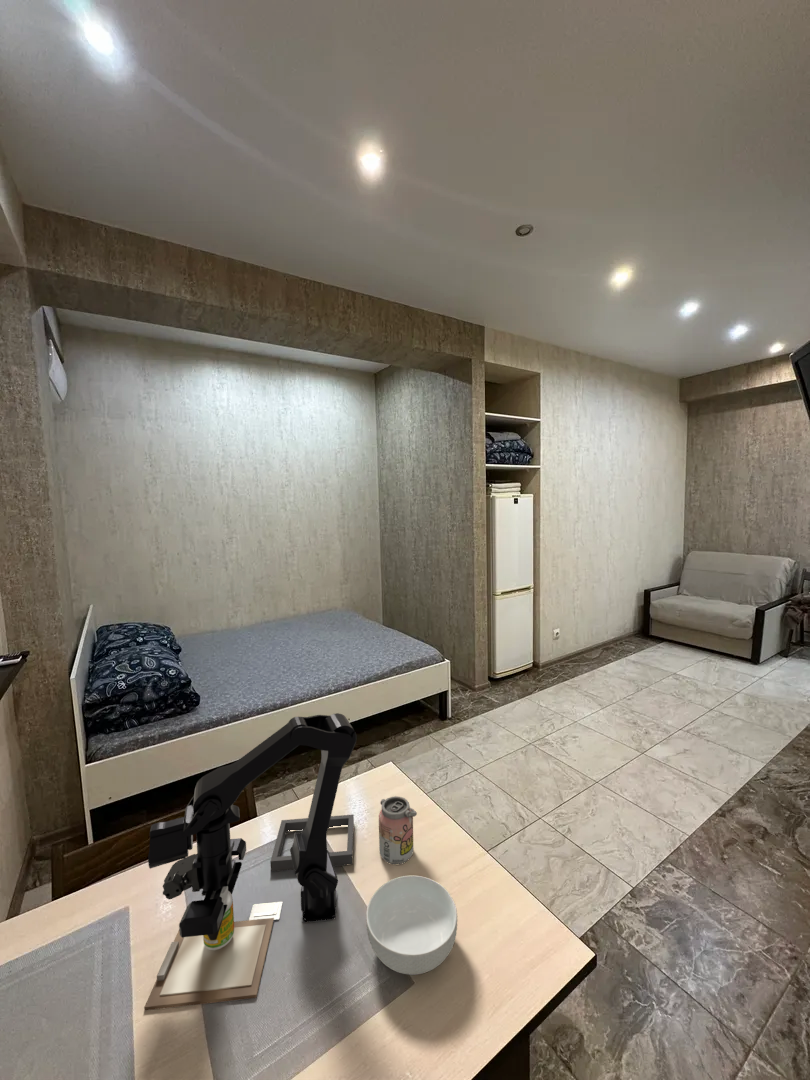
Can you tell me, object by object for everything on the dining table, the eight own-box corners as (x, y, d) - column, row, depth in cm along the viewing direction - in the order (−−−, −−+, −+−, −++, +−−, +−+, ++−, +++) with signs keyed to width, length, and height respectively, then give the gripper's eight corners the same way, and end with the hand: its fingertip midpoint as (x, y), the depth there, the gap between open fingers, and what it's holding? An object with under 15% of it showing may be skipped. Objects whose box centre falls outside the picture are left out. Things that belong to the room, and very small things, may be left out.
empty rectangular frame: (353, 823, 114) (353, 814, 114) (352, 864, 101) (351, 854, 101) (282, 829, 113) (281, 820, 113) (270, 871, 99) (270, 861, 99)
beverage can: (395, 832, 111) (394, 787, 110) (423, 847, 106) (422, 799, 105) (371, 856, 103) (370, 807, 103) (400, 873, 98) (399, 822, 98)
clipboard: (273, 920, 87) (273, 913, 87) (256, 997, 73) (256, 988, 73) (180, 929, 86) (179, 922, 86) (144, 1010, 72) (143, 1001, 72)
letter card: (282, 902, 91) (282, 901, 91) (279, 920, 88) (278, 918, 87) (253, 905, 91) (253, 903, 91) (248, 923, 87) (248, 921, 87)
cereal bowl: (465, 919, 87) (465, 886, 86) (445, 1010, 71) (445, 969, 71) (386, 896, 92) (385, 864, 92) (351, 975, 77) (350, 938, 76)
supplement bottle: (223, 953, 79) (220, 903, 79) (197, 948, 81) (194, 898, 80) (240, 926, 85) (237, 878, 84) (215, 921, 86) (212, 874, 85)
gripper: (189, 815, 90) (194, 886, 91) (143, 894, 71) (149, 982, 72) (244, 810, 91) (249, 881, 92) (213, 887, 72) (219, 974, 73)
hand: (218, 924), depth 82 cm, fingers closed on supplement bottle, 5 cm apart
